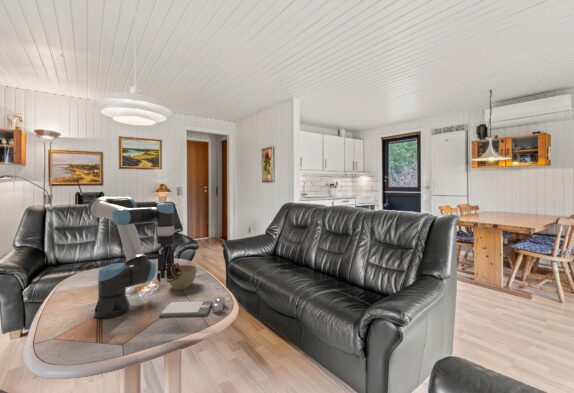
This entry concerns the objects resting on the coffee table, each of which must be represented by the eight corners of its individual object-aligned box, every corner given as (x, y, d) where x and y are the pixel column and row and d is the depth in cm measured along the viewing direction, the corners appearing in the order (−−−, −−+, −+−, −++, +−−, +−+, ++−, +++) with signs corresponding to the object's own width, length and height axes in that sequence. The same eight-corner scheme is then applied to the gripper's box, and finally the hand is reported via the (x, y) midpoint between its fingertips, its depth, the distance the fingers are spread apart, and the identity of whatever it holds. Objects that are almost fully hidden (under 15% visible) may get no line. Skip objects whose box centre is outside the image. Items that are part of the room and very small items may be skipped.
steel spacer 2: (211, 314, 135) (211, 306, 135) (213, 309, 140) (213, 302, 140) (222, 313, 135) (222, 305, 135) (223, 309, 140) (223, 301, 140)
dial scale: (159, 317, 131) (159, 313, 131) (170, 304, 146) (170, 301, 146) (206, 315, 133) (206, 312, 133) (212, 303, 148) (212, 300, 148)
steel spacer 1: (214, 308, 141) (214, 300, 141) (215, 304, 146) (215, 297, 146) (224, 308, 142) (224, 300, 142) (225, 304, 147) (225, 296, 146)
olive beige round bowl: (178, 295, 159) (178, 274, 159) (159, 289, 168) (159, 269, 168) (202, 286, 174) (202, 267, 174) (184, 281, 184) (184, 263, 184)
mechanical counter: (178, 285, 130) (177, 264, 131) (151, 286, 130) (150, 265, 131) (184, 281, 138) (183, 261, 138) (158, 281, 138) (158, 261, 138)
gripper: (165, 237, 125) (166, 288, 125) (180, 232, 144) (181, 276, 144) (148, 237, 125) (149, 289, 125) (166, 232, 144) (167, 276, 144)
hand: (166, 282), depth 134 cm, fingers closed on mechanical counter, 6 cm apart
